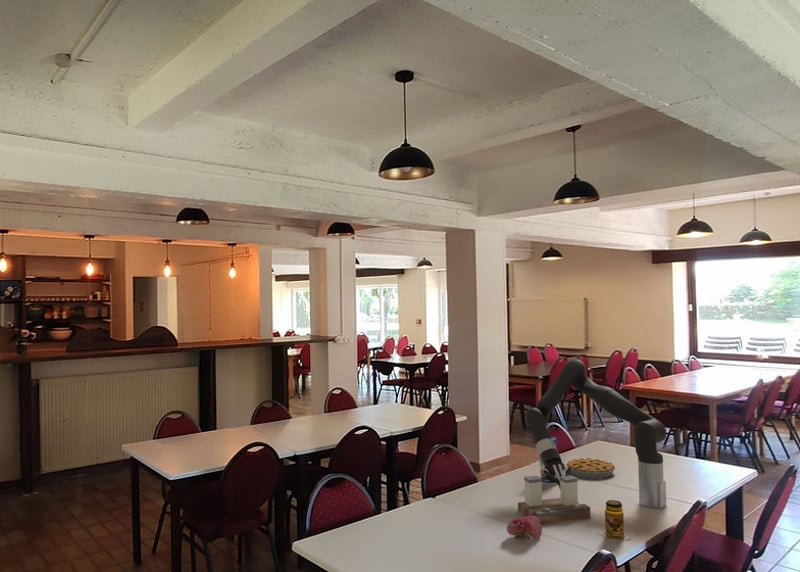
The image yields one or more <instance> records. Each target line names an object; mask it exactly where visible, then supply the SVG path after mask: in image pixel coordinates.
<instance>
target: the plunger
mask: <svg viewBox="0 0 800 572" xmlns="http://www.w3.org/2000/svg"><path fill="white" fill-rule="evenodd" d="M523 480H524V498H525V500H524V502H525V503H526V504H527V505H529V506H530V507H533V506H540V505H542V500H543V492H542V491H543V489H542V486H543V485H542V484H543V483H542V478H541V476H538V475H530V476H523Z"/></svg>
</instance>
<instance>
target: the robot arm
mask: <svg viewBox="0 0 800 572" xmlns="http://www.w3.org/2000/svg"><path fill="white" fill-rule="evenodd" d="M585 365H586V364H585V363H584V361H582V360H580V359H576V358H575V359H571V360H569V361H567V362H566V363H565V365H564V367H563V368H562V370H561V371H560V373H559V374H558V376H557V377H556V379H555V381H554V382H553V383H552V384H551V386H550V388H548V390H547V391H546V392H545V393H544V395H542V397H541V398H539V400H538V401H537V402H536V403H537V404H536V405H535V407H529V408H528V409H527V410H526V412H525V415H524V416H525V426H526V427H527V429H529V430H531V433H532V434H531V435H532V439H533V441H534V444H535V446H536V450H537V452H538V455H539V458H540V457H541V460H542V462H543V464H544V466H545V470H544V471H543V472H542V475H543V476H544V477H546V478H547V479H548V480H549V481H551V482H552V483H557V484H556V485H557V486H558V488H559V489H560V480H559V477H561V476H570V475H571V467H569V468H568V467H567V466H565V464H564V463H563V461H562V458H561V455H560V452H559V450H558V449H557V445H556V446H555V444H554V442H553V441H552V439H551V437H552V436H551V435H550V433H549V430H548V428H547V425H546V421H547V419H548V417H549V415H550V414H551V413H552V412H553V411H554V409H555V408H556V407H558V405H559V403H561V401H562V398H563V397H564V395H565V392H567V389H568V387H569V385H570V386H571V387H573V388H575V389H576V390H578V391H579V392H581V393H583V394H584V395H586V396H587V397H588V398H589V399H591V400H592V401H593V402H595V403H596V404H597V405H598V406H599V407H601V408H602V409H603V410H604V411H606V412H607V413H609V414H610V415H611V416H613V417H616V418H618V419H621V420H622V421H626V422H628V423H630V424H632V425H634V426H635V427H634V433H633V434H634V447H635V453H636V456H637V462H638V463H637V465H638V467H637V468H638V469H637V471H638V498H639V499H638V501H639V504H640V505H641V506H643V507H647V508H649V509H663V508H664V507H665V506H667V483H666V482H667V481H666V480H665V479H664V478H665V477H664V457H663V454H662V453H660V452H659V451H658V448H657V444H658V443H661V442H663V441H664V440H666V439H667V434H668V433H667V429H666V426H664V424H663V423H662V422H661V421H659V420H658V419H657V418H655V417H653V416H652V415H650V414H648V413H647V412H645V411H643V410H641V409H640V408H639V407H637V406H636V405H634V403H632V402H630V401H629V400H628V399H626V397H624V396H622V395H621V394H620V392H617V391H616V390H615V389H613V388H611V387H609V386H606V385H599V384H597V383H596V382H594V381H593V380H592V379H590V378H589V377H588V376H587V372H586V366H585Z"/></svg>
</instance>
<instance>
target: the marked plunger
mask: <svg viewBox="0 0 800 572" xmlns="http://www.w3.org/2000/svg"><path fill="white" fill-rule="evenodd" d="M559 480H560V488H559V490H560V497H561V504H563V505H565V506H571V505H573V504H578V503H579V502H578V501H579V500H578V499H579V497H578V494H579V493H578V482H579V478H578V477H577V476H576V477H575V475H573V474H570V475H569V476H565V475H564V476H561V477H559Z"/></svg>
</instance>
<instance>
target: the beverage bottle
mask: <svg viewBox="0 0 800 572" xmlns="http://www.w3.org/2000/svg"><path fill="white" fill-rule="evenodd" d="M551 439H552V441H553V442H554V444H555V446H556V447H557V438H556V437H554V436H551ZM539 463H540V464H539V466H540V467H539V468H540V478H542V482H541V484H543V485H547V486H548V485H550V486H555V485H558V484H557V483H552V482H551V481H549V480H548V479H547V478H546V477H544V476H543V475H542V472H543V471H544V470H545V466H544V464H543V462H542V460H541V457H540V456H539Z"/></svg>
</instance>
